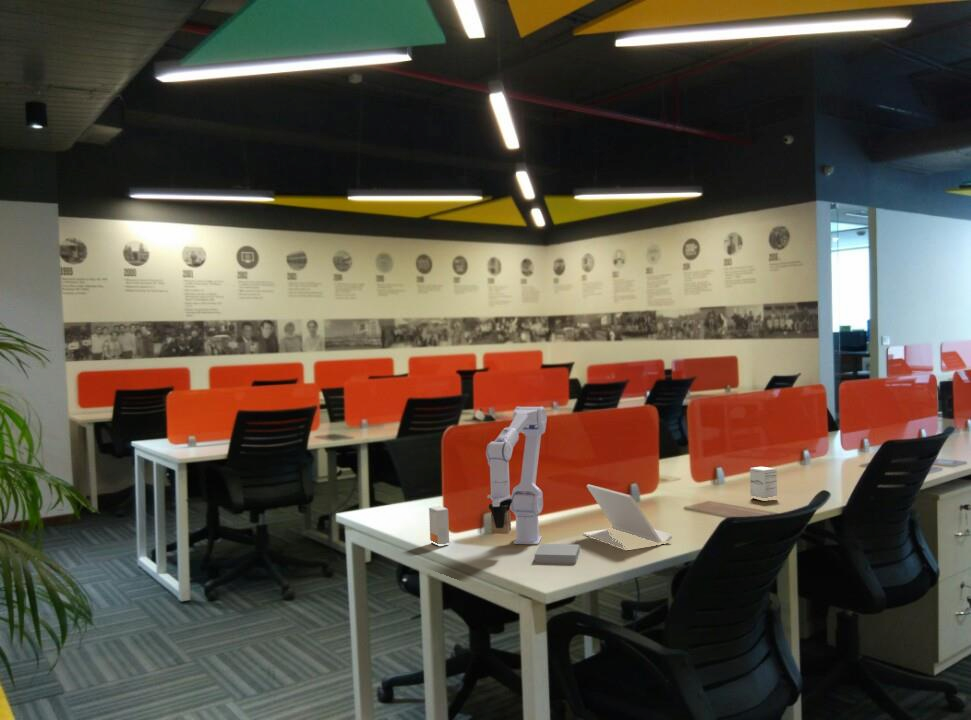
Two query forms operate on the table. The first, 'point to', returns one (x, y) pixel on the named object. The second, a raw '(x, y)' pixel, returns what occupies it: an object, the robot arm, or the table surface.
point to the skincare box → (439, 525)
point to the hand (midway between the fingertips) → (501, 525)
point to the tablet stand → (623, 517)
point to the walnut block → (506, 527)
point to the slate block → (557, 553)
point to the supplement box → (763, 482)
